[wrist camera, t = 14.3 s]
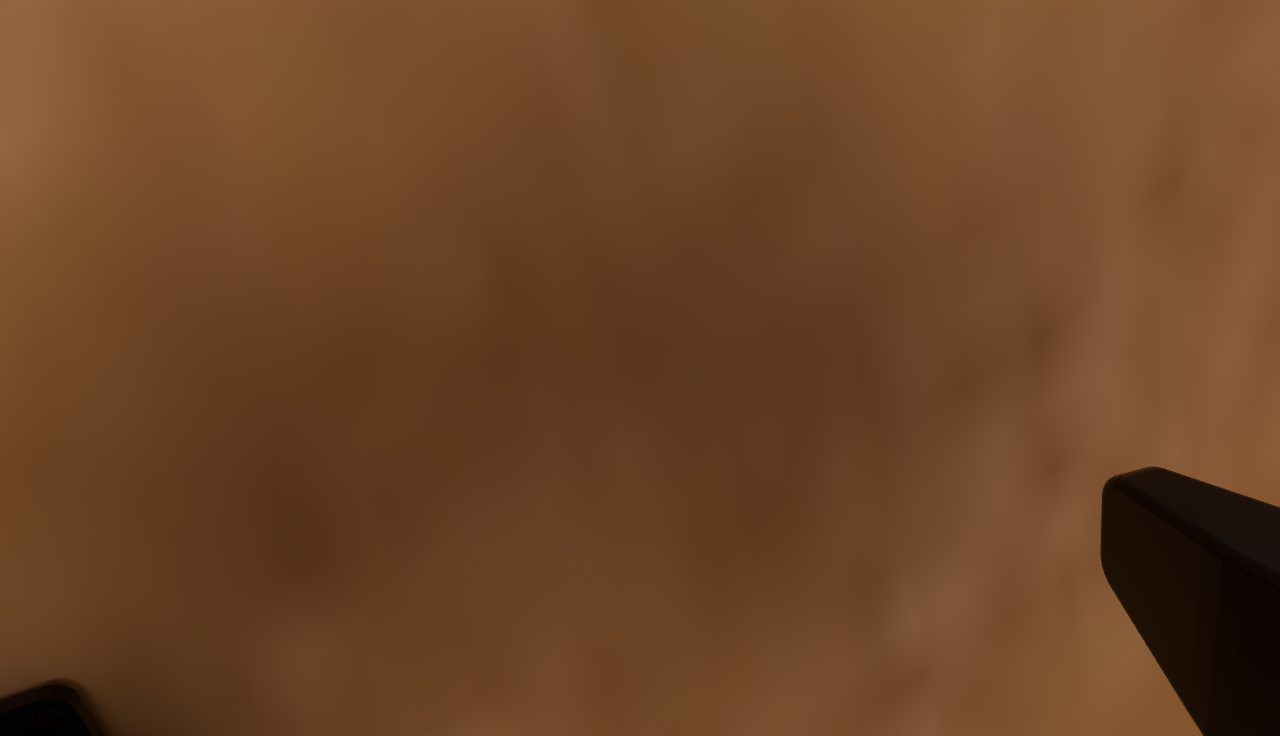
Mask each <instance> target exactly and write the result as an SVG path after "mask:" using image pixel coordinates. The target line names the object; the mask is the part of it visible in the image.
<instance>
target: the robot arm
mask: <svg viewBox="0 0 1280 736" xmlns="http://www.w3.org/2000/svg"><path fill="white" fill-rule="evenodd" d="M1100 553H1101V562H1102V567H1103V571H1104V574H1105V576H1106V578H1107V581H1108V583H1109V585H1110V586H1111V588H1112V590H1113V591H1114V593H1115V595H1116V596H1117V598H1118V599H1119V601H1120V603H1121V604H1122V606H1123V608H1124V609H1125V611H1126V612H1127V614H1128V616H1129V617H1130V619H1131V621H1132V622H1133V624H1134V625H1135V627H1136V629H1137V630H1138V632H1139V633H1140V635H1141V637H1142V638H1143V640H1144V642H1145V643H1146V645H1147V646H1148V648H1149V650H1150V651H1151V653H1152V655H1153V656H1154V658H1155V659H1156V661H1157V663H1158V664H1159V666H1160V668H1161V669H1162V671H1163V672H1164V674H1165V676H1166V677H1167V679H1168V681H1169V682H1170V684H1171V685H1172V687H1173V689H1174V690H1175V692H1176V693H1177V695H1178V697H1179V698H1180V700H1181V702H1182V703H1183V705H1184V706H1185V708H1186V710H1187V711H1188V713H1189V714H1190V716H1191V717H1192V719H1193V721H1194V722H1195V724H1196V725H1197V727H1198V728H1199V730H1200V731H1201V733H1202V734H1203V736H1280V507H1277V506H1274V505H1271V504H1268V503H1265V502H1262V501H1259V500H1256V499H1253V498H1250V497H1247V496H1244V495H1241V494H1238V493H1235V492H1232V491H1229V490H1226V489H1223V488H1220V487H1217V486H1214V485H1211V484H1208V483H1205V482H1203V481H1200V480H1197V479H1194V478H1191V477H1188V476H1185V475H1182V474H1179V473H1176V472H1173V471H1170V470H1167V469H1163V468H1160V467H1146V468H1142V469H1138V470H1135V471H1131V472H1127V473H1124V474H1120V475H1116V476H1113V477H1111V478H1110V479H1109V480H1107V482H1106V483H1105V485H1104V488H1103V492H1102V514H1101V550H1100ZM45 709H55V710H59V711H60V712H61V713H62V715H59V716H50V715H46V714H45V713H43V712H42V710H45ZM0 736H104V734H103V733H102V731H101V729H100V728H99V726H98V725H97V723H96V721H95V720H94V718H93V716H92V715H91V713H90V711H89V710H88V708H87V707H86V705H85V703H84V702H83V700H82V698H81V697H80V696H79V695H78V694H77V693H76V692H75V691H74V690H73V689H70V688H68V687H66V686H60V685H50V686H44V687H41V688H38V689H35V690H32V691H29V692H26V693H23V694H20V695H17V696H15V697H12V698H9V699H6V700H3V701H0Z"/></svg>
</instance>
